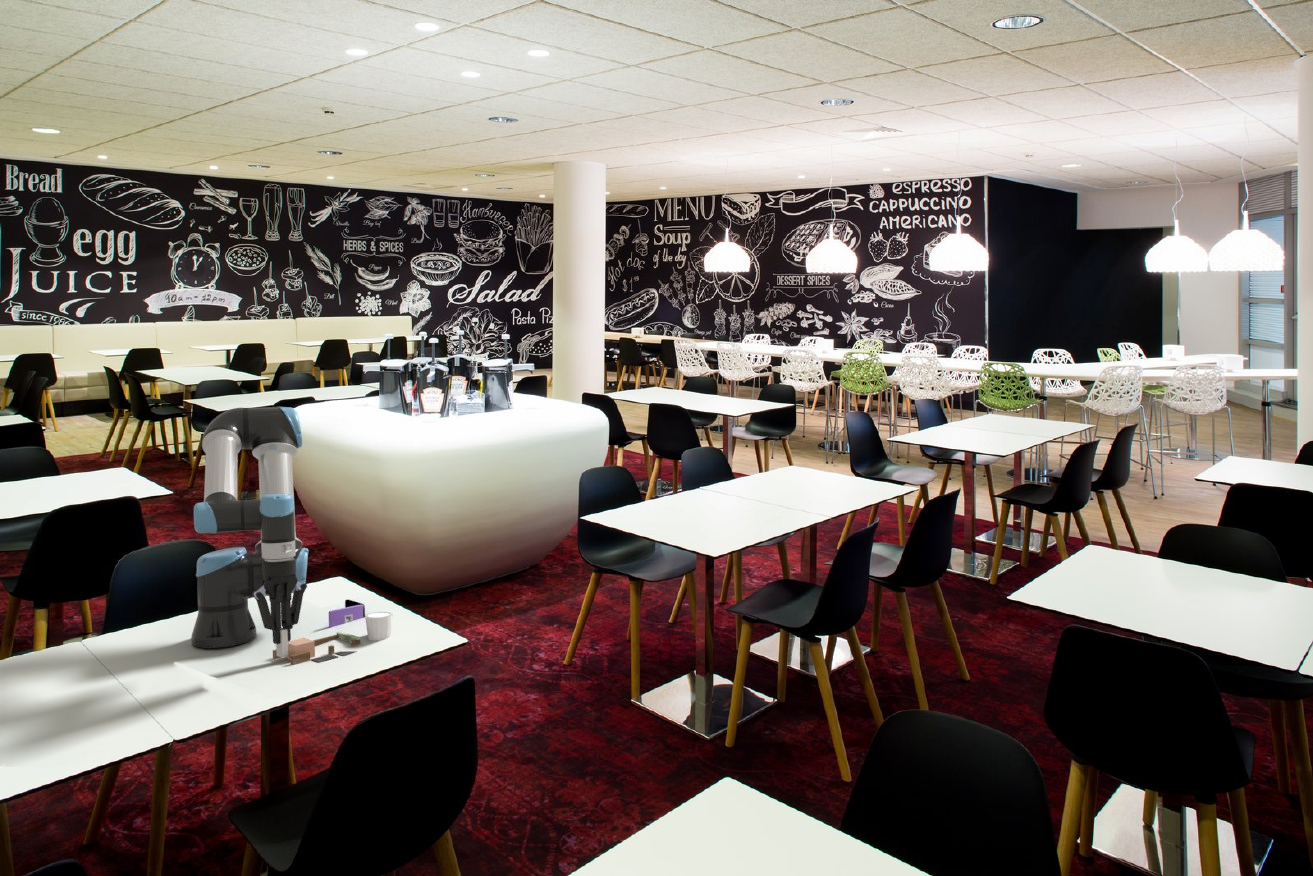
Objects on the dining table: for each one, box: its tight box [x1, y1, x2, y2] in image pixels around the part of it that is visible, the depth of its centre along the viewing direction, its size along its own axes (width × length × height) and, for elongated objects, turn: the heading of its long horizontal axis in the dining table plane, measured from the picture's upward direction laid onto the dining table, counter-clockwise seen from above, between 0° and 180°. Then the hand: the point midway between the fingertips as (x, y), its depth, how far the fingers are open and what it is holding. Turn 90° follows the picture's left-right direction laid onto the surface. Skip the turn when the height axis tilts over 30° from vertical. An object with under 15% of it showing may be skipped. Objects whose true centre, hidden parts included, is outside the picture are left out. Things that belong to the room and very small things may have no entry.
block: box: [284, 637, 316, 661], centre depth 222 cm, size 5×5×4 cm
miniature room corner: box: [328, 599, 366, 628], centre depth 249 cm, size 12×12×7 cm
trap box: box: [272, 631, 362, 666], centre depth 225 cm, size 12×18×2 cm
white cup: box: [364, 611, 394, 641], centre depth 235 cm, size 7×7×7 cm
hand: (282, 655), depth 218 cm, fingers closed
